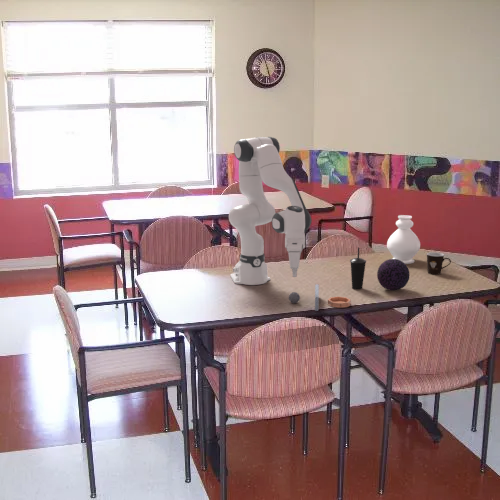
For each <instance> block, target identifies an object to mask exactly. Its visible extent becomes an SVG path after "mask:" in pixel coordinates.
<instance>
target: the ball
mask: <svg viewBox="0 0 500 500" xmlns="http://www.w3.org/2000/svg"><path fill="white" fill-rule="evenodd" d="M300 299H301V296H300V294H299V293H298V292H296V291H293V292H291V293H289V294H288V301H289V302H290V303H291V304H298V302H299V301H300Z"/></svg>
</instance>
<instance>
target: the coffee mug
mask: <svg viewBox="0 0 500 500" xmlns="http://www.w3.org/2000/svg"><path fill="white" fill-rule="evenodd" d="M444 257H445V254H444V253H442V252H434V251H431V252H430V251H429V252H428V253H426V262H427V263H426V265H427V273H428V274H429V275H433V276H435V275H436V276H437V275H441V273H442V270H443V269H445V268H447V267H448V266H450V264H451V263H452V260H451V259H450V258H449V257H445V258H444ZM445 260H448V261H449V263H448V264H447V265H444V266H443V262H444V261H445Z"/></svg>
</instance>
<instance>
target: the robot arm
mask: <svg viewBox="0 0 500 500" xmlns="http://www.w3.org/2000/svg"><path fill="white" fill-rule="evenodd" d="M233 147H234V148H233V152H234V153H233V154H234V156H235V159H237V161H238V162H239V163H238V185H239V192H240V194H242V195H243V196H245V197H246V198H247V200H248V203H247V204H240V205H237V206H235V207H232V208H231V209H230V211H229V213H228V221H229V224H230V225H231V226H232V227H234V228H235V229H236V231H237V232H238V234H239V238H240V247H241V249H240V252H239V254H240V255H239V261H238V262H237V263H236V264H235V265H234V267H233V268H232V273H230V275H229V276H230V279H231V280H232V281H233V283H234V284H237V285H244V286H245V285H247V286H256V285H264V284H266V283H268V281H270V280H271V277H270V276H268V264H267V263H266V261H265V258H266V257H265V253H264V249H265V248H264V247H265V246H264V243H265V242H264V237H263V236H262V235H260V234H259V233H258V232H257V230H256V229H257V228H256V227H257V226H262V225H266V224H267V225H268V223H271V227H272V229H273V231H274V232H276V233H278V234H284V235H285V236H284V247H285V249H286V251H287V253H288V262H289V263H288V264H289V268H290V269H291V270H292V277H293V278H296V277H298V276H297V275H298V269H299V267H300V259H301V253H302V252H303V249H305V248H306V234H305V233H306V232H307V231H308V230H309V228H310V227H311V225H312V217H311V214H310V213H309V211H308V208H307V207H306V205H305V203H304V200H303V198H302V196H301V193H300V191H299V189H298V186H297V184H296V182H295V180H294V179H293V178H292V177H291V176H289V174H288V173H287V171H286V170H285V169H284V165H283V161H282V158H281V155H280V151H281V149H280V148H281V146H280V143H279V141H278V139H277V138H276V137H272V136H266V137H265V136H256V137H255V136H254V137H250V138H242V139H239V140H237V141H236V142H235V144H234V146H233ZM263 184H264V185H266V187H270V188H271V189H275V190H278V191H281V192H283V193H284V194H286V196H287V198H288V199H289V203H290V205H289V206H287V207H286V208H285V209H284V210H282V211H278V212H276V209H275V207H274V205H273V204H272V203H271V202H270V201H268V199H267V198H266V195H265V192H264V186H263Z"/></svg>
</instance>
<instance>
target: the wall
mask: <svg viewBox="0 0 500 500" xmlns="http://www.w3.org/2000/svg"><path fill="white" fill-rule="evenodd" d="M319 287H320V285H319V284H317V283H315V286H314V311H315V312H317V311H319V299H320V298H319V296H320V295H319V293H320V291H319V289H320V288H319Z"/></svg>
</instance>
